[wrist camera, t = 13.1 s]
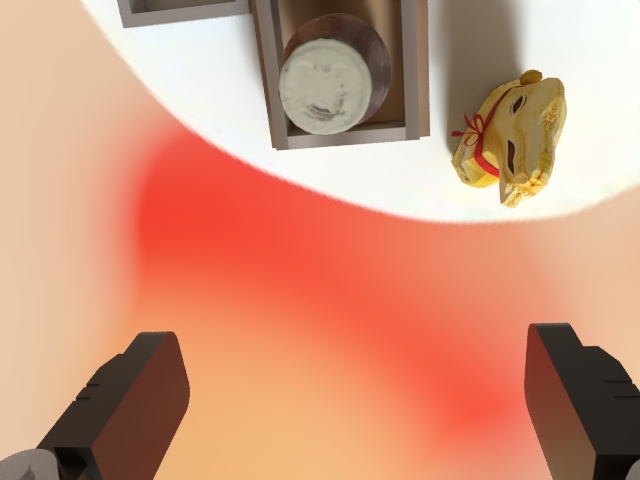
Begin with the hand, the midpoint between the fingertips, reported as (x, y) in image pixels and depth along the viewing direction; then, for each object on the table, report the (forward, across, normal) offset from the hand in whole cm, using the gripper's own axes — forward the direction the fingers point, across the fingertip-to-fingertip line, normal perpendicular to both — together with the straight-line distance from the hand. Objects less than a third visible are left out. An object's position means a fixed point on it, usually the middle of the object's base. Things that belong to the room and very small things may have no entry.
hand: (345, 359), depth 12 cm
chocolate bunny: (+38, -10, +3) cm, 40 cm away
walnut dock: (+38, +2, -4) cm, 38 cm away
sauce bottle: (+32, +2, -4) cm, 33 cm away
